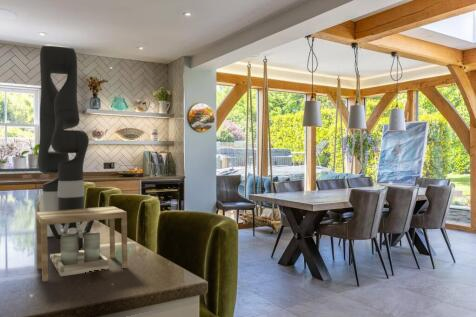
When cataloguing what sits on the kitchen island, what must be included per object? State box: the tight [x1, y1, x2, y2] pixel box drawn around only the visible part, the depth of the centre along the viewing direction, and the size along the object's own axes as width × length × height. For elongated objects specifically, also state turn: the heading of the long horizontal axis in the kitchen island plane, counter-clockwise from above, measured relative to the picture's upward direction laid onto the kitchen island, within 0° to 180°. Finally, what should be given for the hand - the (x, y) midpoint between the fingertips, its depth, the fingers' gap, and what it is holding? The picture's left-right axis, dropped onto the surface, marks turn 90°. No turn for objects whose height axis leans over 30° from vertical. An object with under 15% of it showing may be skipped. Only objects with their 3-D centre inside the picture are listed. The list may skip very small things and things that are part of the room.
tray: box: [49, 231, 109, 277], centre depth 115 cm, size 22×12×9 cm, turn 32°
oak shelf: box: [35, 206, 129, 283], centre depth 110 cm, size 14×21×16 cm, turn 122°
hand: (71, 250), depth 123 cm, fingers closed on tray, 3 cm apart
